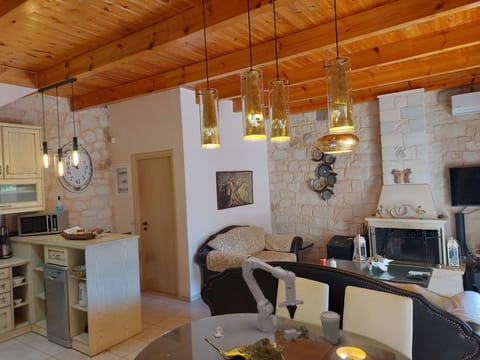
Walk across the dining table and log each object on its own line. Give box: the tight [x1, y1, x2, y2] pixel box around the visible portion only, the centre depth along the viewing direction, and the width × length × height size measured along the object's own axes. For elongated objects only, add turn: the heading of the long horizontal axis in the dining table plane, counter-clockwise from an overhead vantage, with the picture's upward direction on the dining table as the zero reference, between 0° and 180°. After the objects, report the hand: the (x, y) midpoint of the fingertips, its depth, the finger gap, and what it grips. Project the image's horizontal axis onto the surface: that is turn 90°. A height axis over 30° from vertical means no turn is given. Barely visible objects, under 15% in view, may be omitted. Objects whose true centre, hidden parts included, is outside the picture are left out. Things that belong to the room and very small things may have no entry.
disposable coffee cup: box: [319, 310, 341, 345], centre depth 181 cm, size 11×11×15 cm
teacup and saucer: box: [214, 326, 223, 338], centre depth 198 cm, size 9×8×4 cm
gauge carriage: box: [283, 328, 302, 342], centre depth 183 cm, size 9×7×4 cm
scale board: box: [274, 325, 309, 344], centre depth 184 cm, size 18×12×6 cm, turn 104°
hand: (292, 318), depth 192 cm, fingers closed
